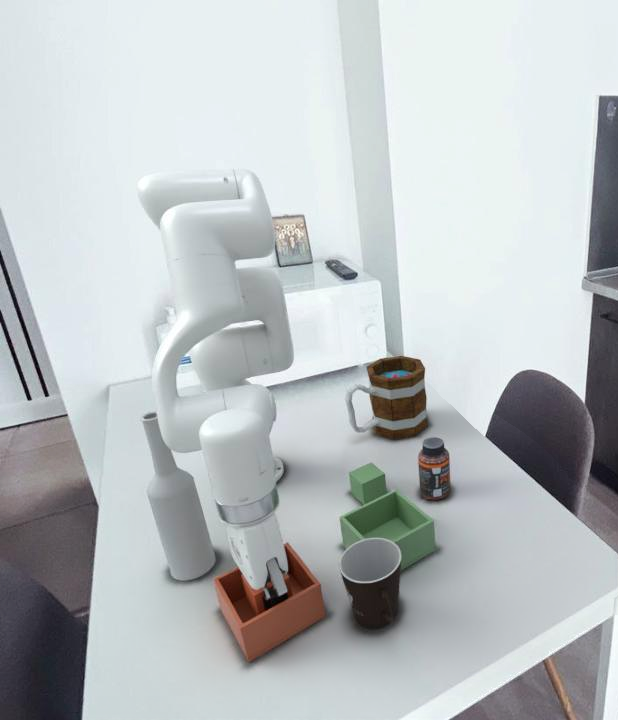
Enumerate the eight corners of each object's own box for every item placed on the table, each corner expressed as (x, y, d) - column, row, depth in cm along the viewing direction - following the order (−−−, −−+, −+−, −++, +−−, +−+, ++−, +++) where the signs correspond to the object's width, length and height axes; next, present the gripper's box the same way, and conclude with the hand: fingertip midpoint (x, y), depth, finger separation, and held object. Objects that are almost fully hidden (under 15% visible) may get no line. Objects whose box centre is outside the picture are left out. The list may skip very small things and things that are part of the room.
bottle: (217, 546, 93) (179, 401, 81) (214, 574, 87) (173, 422, 76) (173, 556, 91) (128, 408, 79) (168, 585, 85) (118, 431, 74)
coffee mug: (350, 590, 84) (343, 539, 80) (406, 586, 84) (402, 535, 80) (339, 658, 73) (330, 603, 69) (403, 653, 74) (398, 598, 70)
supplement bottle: (446, 503, 103) (444, 452, 98) (416, 499, 104) (412, 449, 99) (454, 484, 108) (452, 435, 103) (425, 481, 109) (422, 432, 104)
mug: (408, 405, 138) (404, 351, 132) (440, 426, 128) (437, 368, 122) (337, 432, 126) (329, 374, 120) (366, 457, 117) (360, 395, 111)
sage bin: (343, 546, 92) (339, 516, 90) (398, 517, 99) (396, 488, 97) (378, 584, 85) (374, 553, 82) (435, 550, 91) (434, 520, 89)
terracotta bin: (221, 610, 80) (212, 578, 78) (293, 572, 87) (287, 541, 85) (248, 662, 73) (240, 628, 70) (326, 616, 79) (320, 583, 77)
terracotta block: (247, 600, 79) (241, 574, 77) (280, 582, 82) (275, 557, 80) (260, 622, 76) (254, 595, 74) (294, 602, 79) (289, 577, 77)
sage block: (351, 493, 106) (348, 472, 104) (373, 483, 109) (371, 462, 107) (364, 506, 102) (361, 484, 100) (387, 494, 105) (385, 473, 103)
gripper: (198, 481, 75) (224, 579, 83) (242, 548, 64) (267, 655, 71) (252, 460, 80) (272, 555, 87) (303, 519, 68) (321, 623, 75)
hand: (270, 599), depth 79 cm, fingers closed on terracotta block, 5 cm apart
